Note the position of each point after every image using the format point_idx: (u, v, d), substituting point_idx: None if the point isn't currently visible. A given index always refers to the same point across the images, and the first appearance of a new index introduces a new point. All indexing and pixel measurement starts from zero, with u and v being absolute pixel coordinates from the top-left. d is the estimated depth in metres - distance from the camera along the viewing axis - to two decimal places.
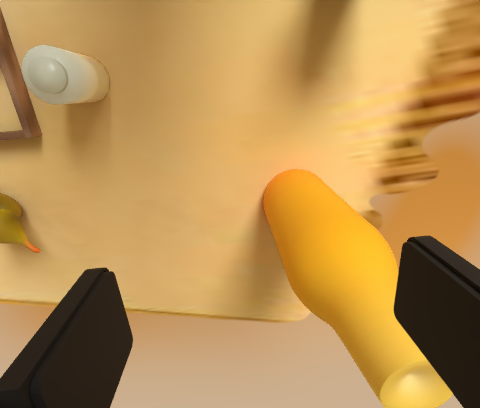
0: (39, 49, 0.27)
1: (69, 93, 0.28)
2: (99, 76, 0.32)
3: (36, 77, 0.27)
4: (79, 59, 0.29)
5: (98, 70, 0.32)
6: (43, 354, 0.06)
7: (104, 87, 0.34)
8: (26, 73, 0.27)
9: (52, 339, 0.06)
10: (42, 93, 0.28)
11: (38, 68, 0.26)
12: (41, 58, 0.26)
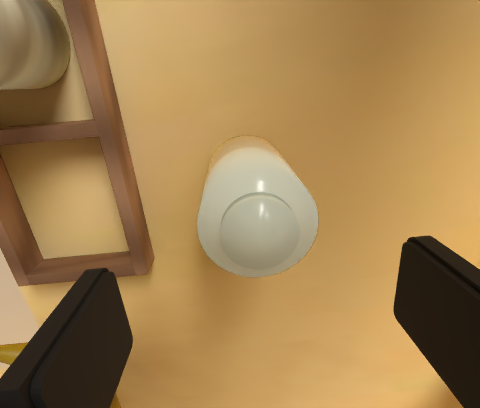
0: (247, 177, 0.11)
1: (288, 258, 0.13)
2: None
3: (237, 241, 0.12)
4: None
5: None
6: (43, 354, 0.06)
7: None
8: (206, 224, 0.12)
9: (52, 339, 0.06)
10: (231, 259, 0.13)
11: (248, 224, 0.11)
12: (258, 204, 0.11)
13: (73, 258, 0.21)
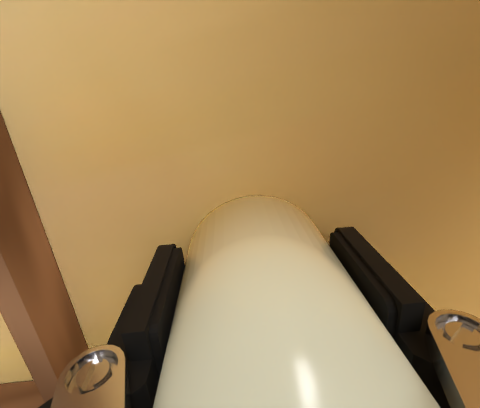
0: None
1: None
2: None
3: None
4: (402, 352, 0.05)
5: None
6: (152, 307, 0.07)
7: None
8: None
9: (154, 297, 0.07)
10: None
11: None
12: None
13: None
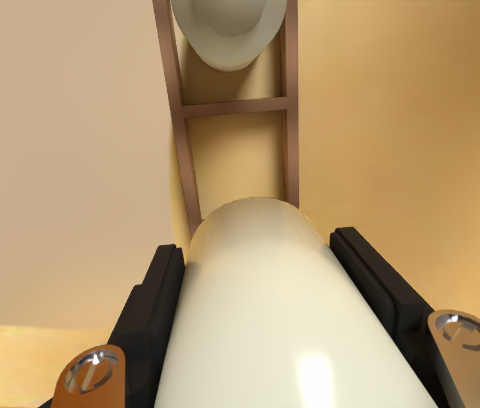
0: None
1: None
2: None
3: None
4: (402, 355, 0.05)
5: None
6: (153, 307, 0.07)
7: None
8: None
9: (154, 297, 0.07)
10: None
11: None
12: None
13: None
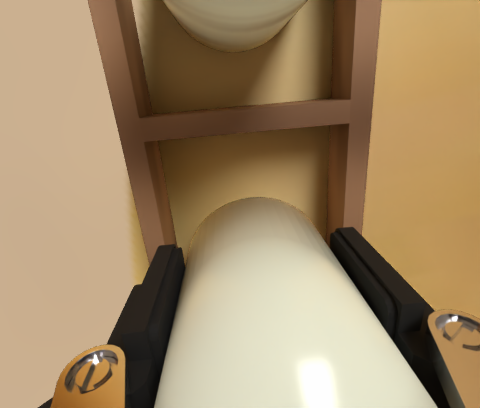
0: None
1: None
2: None
3: None
4: (402, 356, 0.05)
5: None
6: (153, 307, 0.07)
7: None
8: None
9: (154, 297, 0.07)
10: None
11: None
12: None
13: None
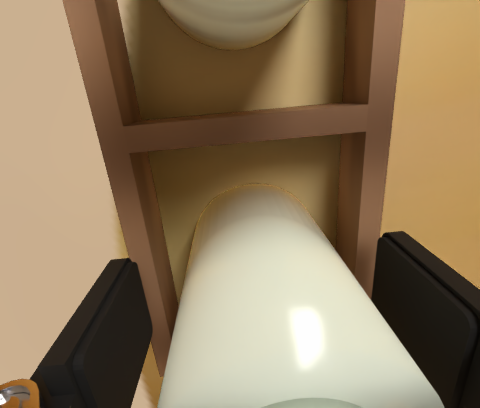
0: (276, 369, 0.04)
1: None
2: None
3: None
4: (370, 300, 0.06)
5: None
6: (82, 334, 0.06)
7: None
8: None
9: (88, 321, 0.06)
10: None
11: None
12: None
13: None
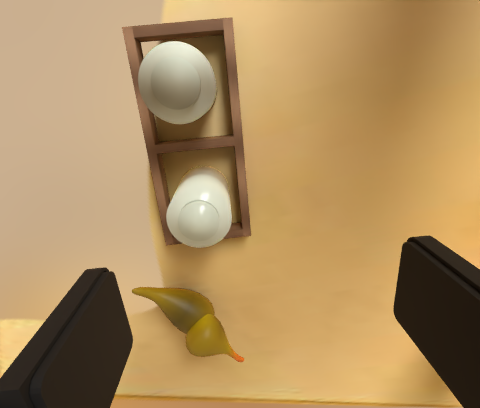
0: (191, 192, 0.22)
1: (217, 235, 0.24)
2: (229, 195, 0.28)
3: (186, 225, 0.22)
4: (223, 191, 0.24)
5: (228, 188, 0.28)
6: (43, 354, 0.06)
7: None
8: (171, 217, 0.23)
9: (52, 339, 0.06)
10: (186, 237, 0.23)
11: (191, 216, 0.22)
12: (196, 205, 0.22)
13: None
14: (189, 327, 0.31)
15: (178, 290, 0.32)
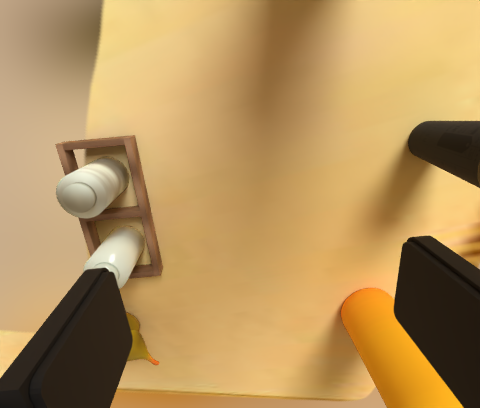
0: (98, 257, 0.34)
1: (119, 284, 0.35)
2: (138, 250, 0.39)
3: None
4: (126, 252, 0.36)
5: (138, 245, 0.39)
6: (43, 354, 0.06)
7: (141, 252, 0.41)
8: None
9: (52, 339, 0.06)
10: None
11: None
12: (100, 267, 0.33)
13: None
14: None
15: None
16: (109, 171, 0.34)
